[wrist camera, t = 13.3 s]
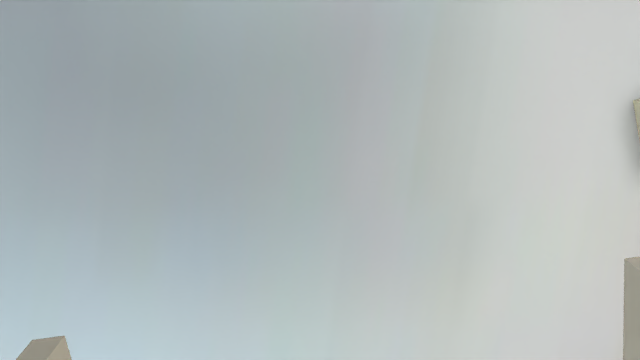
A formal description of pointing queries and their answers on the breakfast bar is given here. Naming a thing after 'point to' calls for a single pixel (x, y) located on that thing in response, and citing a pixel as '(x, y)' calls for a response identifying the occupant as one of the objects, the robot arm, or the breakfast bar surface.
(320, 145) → the breakfast bar surface
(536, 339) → the breakfast bar surface
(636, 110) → the block
